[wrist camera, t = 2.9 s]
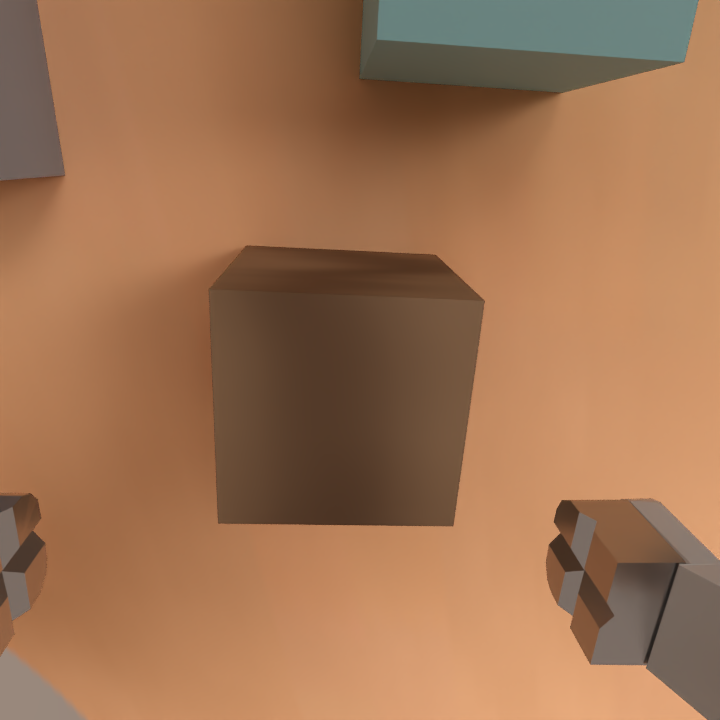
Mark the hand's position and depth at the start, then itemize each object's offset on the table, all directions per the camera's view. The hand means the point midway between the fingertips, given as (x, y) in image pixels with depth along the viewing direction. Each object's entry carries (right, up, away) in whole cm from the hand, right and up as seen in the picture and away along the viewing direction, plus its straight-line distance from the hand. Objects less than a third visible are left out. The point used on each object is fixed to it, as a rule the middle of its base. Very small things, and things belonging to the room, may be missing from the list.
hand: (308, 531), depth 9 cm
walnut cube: (0, +3, +8) cm, 9 cm away
